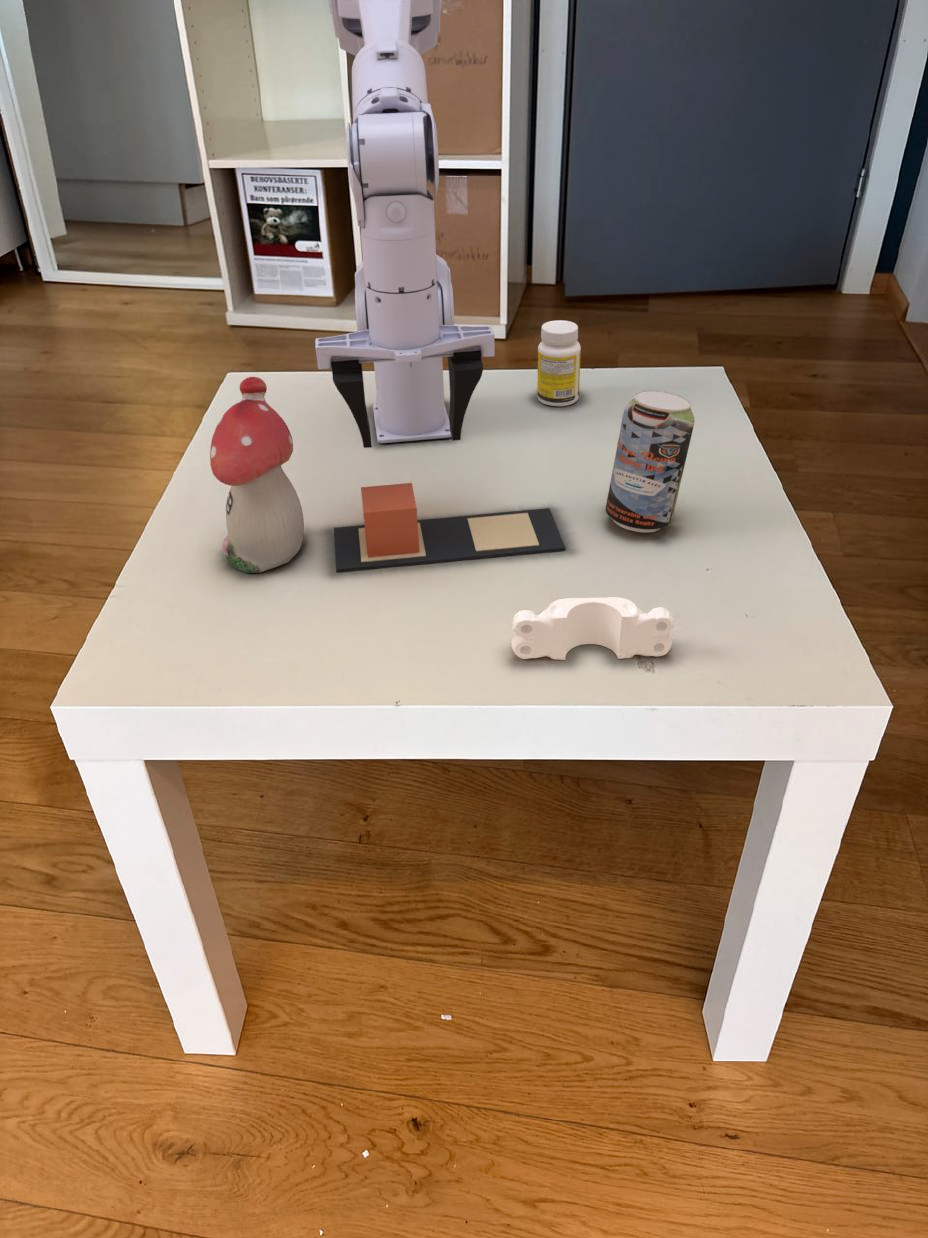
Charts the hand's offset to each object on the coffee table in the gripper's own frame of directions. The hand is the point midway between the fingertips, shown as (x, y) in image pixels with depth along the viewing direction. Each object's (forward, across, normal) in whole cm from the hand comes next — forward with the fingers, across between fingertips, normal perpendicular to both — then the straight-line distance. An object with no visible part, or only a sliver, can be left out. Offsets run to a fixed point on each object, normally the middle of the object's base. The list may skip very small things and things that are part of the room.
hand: (411, 438), depth 85 cm
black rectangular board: (+8, +2, -4) cm, 9 cm away
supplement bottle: (+9, +18, +24) cm, 32 cm away
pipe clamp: (+8, +11, -21) cm, 25 cm away
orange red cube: (+8, -2, -4) cm, 9 cm away
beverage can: (+9, +20, -4) cm, 22 cm away
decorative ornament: (+9, -14, -3) cm, 16 cm away
